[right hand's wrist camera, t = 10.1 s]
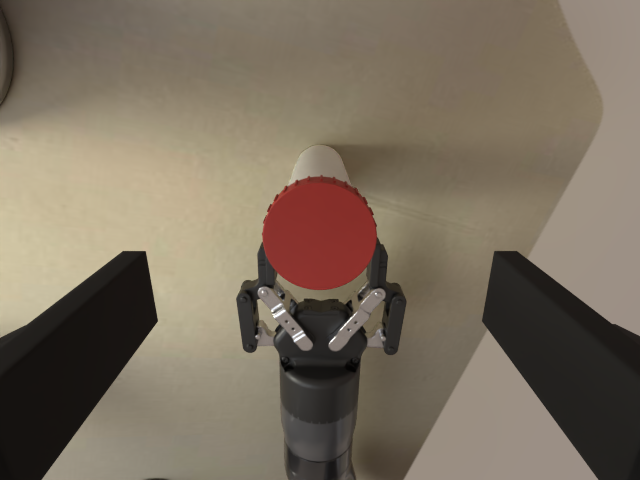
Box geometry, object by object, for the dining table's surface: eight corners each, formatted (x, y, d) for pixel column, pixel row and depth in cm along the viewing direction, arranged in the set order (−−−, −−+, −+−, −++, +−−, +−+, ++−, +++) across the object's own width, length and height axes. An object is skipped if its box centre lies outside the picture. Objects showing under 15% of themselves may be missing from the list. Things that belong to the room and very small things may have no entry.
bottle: (342, 142, 35) (365, 185, 17) (345, 190, 36) (368, 275, 19) (293, 146, 35) (266, 193, 17) (298, 194, 36) (278, 281, 19)
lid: (372, 170, 18) (376, 176, 17) (375, 273, 20) (379, 287, 18) (258, 179, 18) (253, 186, 17) (272, 281, 20) (269, 295, 19)
